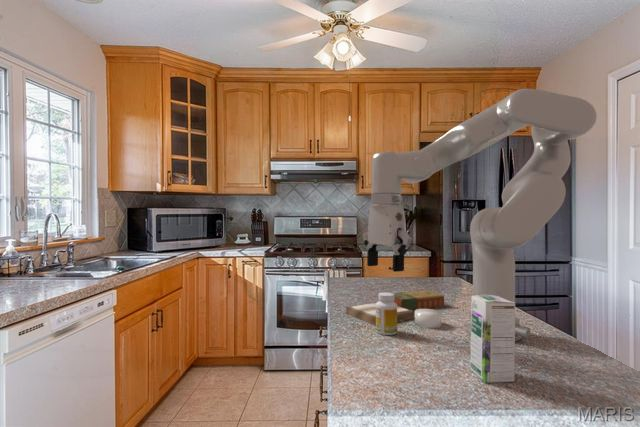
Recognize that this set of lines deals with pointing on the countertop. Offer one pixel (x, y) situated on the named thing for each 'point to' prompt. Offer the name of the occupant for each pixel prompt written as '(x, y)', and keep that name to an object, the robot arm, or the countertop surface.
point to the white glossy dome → (428, 318)
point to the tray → (369, 313)
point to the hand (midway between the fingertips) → (384, 268)
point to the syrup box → (493, 338)
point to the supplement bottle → (386, 314)
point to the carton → (419, 300)
